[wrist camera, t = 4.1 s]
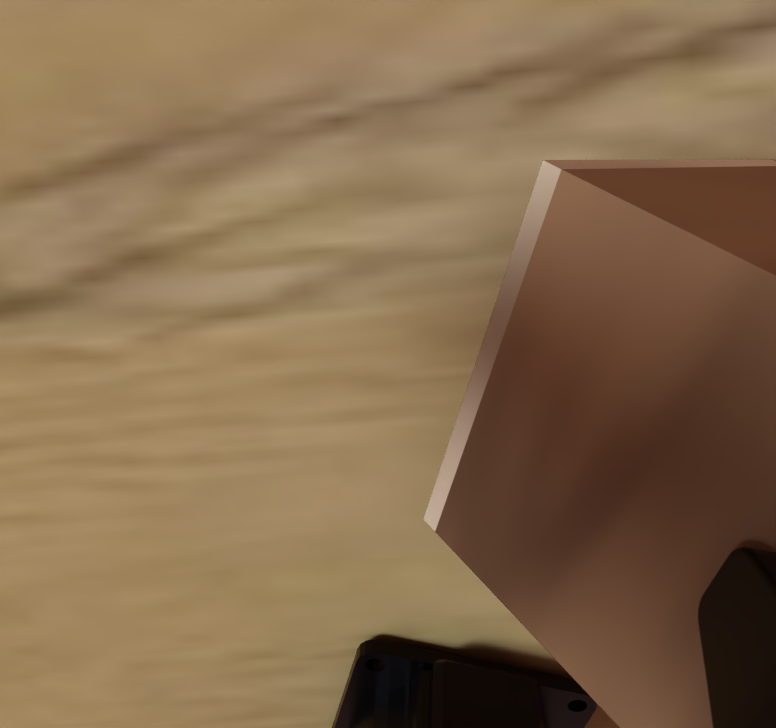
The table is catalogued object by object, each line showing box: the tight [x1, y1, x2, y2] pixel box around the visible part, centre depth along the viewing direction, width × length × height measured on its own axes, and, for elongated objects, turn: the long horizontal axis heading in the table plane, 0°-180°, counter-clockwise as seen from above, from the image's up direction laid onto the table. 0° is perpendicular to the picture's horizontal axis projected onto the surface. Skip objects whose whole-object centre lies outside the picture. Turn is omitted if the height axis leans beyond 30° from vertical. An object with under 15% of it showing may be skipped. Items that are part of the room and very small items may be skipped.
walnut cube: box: [424, 159, 776, 728], centre depth 10 cm, size 6×6×6 cm
